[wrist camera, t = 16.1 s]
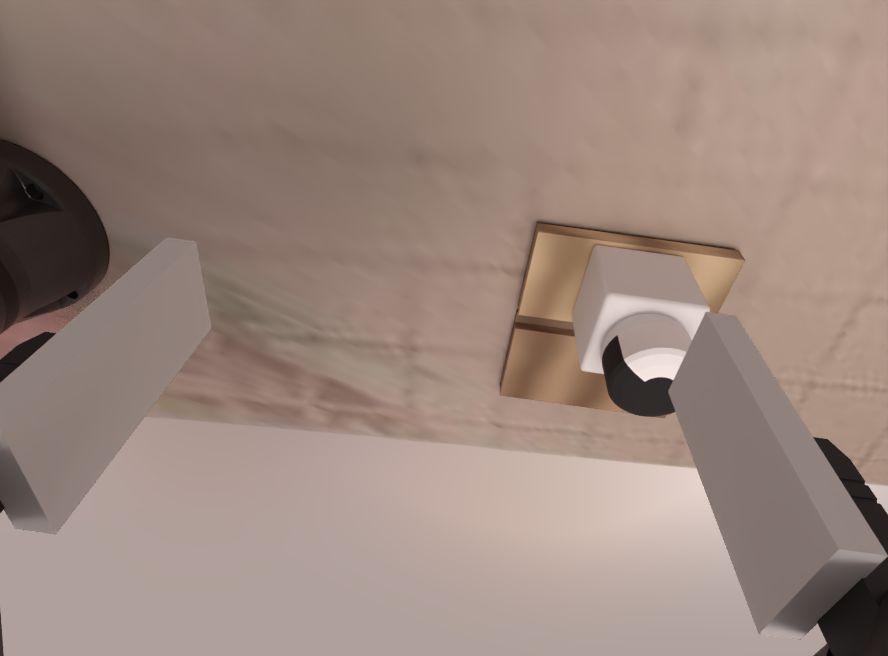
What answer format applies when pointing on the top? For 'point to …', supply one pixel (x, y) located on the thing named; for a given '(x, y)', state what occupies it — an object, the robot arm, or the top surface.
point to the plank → (569, 249)
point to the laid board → (551, 366)
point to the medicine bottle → (637, 324)
